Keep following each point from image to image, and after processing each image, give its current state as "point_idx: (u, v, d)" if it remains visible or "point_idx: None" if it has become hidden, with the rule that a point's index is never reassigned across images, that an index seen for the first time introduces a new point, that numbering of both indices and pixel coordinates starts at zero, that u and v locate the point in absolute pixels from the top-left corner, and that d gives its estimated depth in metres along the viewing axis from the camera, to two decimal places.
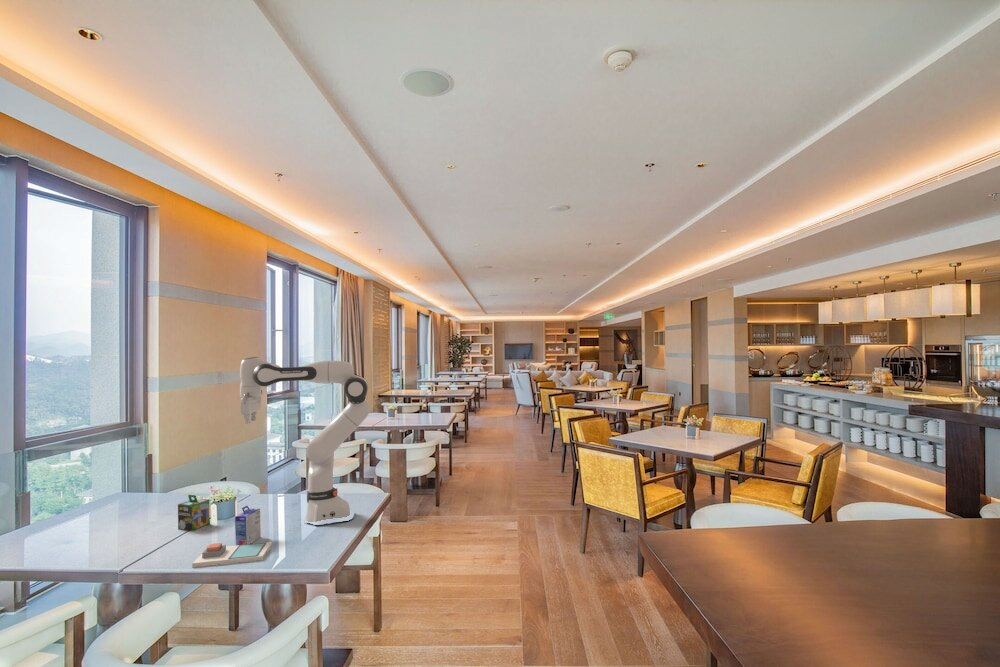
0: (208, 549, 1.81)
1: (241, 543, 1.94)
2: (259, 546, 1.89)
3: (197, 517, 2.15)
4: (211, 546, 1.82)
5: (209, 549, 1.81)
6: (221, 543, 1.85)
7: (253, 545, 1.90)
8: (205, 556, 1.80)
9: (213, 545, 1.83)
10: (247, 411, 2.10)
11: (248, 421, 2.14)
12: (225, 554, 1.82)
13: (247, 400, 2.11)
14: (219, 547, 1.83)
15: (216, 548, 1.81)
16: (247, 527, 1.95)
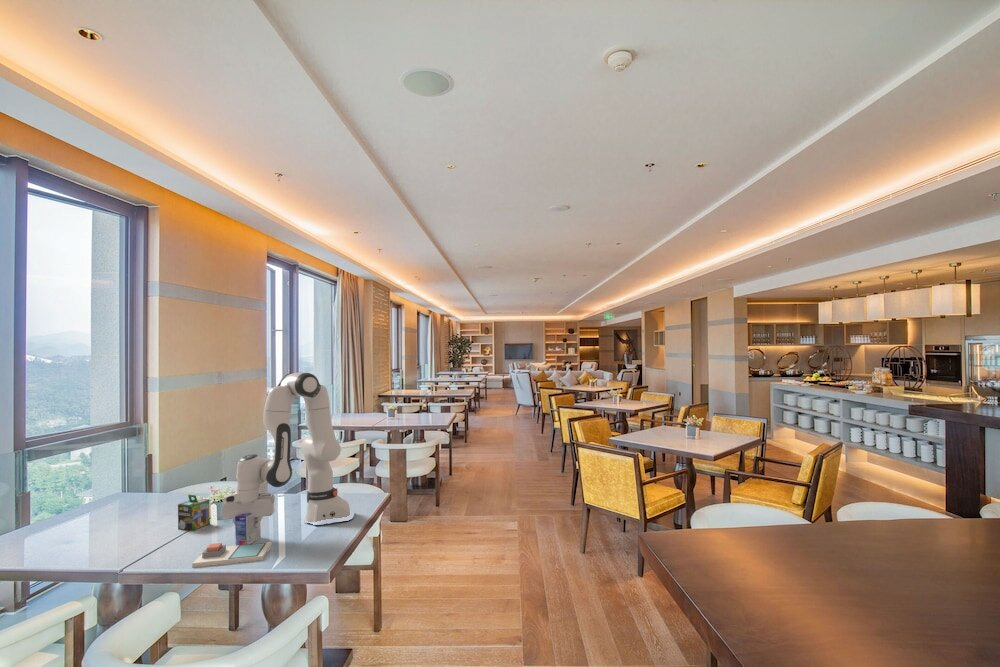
0: (208, 549, 1.81)
1: (241, 543, 1.94)
2: (259, 546, 1.89)
3: (197, 517, 2.15)
4: (211, 546, 1.82)
5: (209, 549, 1.81)
6: (221, 543, 1.85)
7: (253, 545, 1.90)
8: (205, 556, 1.80)
9: (213, 545, 1.83)
10: (274, 510, 2.03)
11: (259, 524, 2.01)
12: (225, 554, 1.82)
13: None
14: (219, 547, 1.83)
15: (216, 548, 1.81)
16: (247, 527, 1.95)
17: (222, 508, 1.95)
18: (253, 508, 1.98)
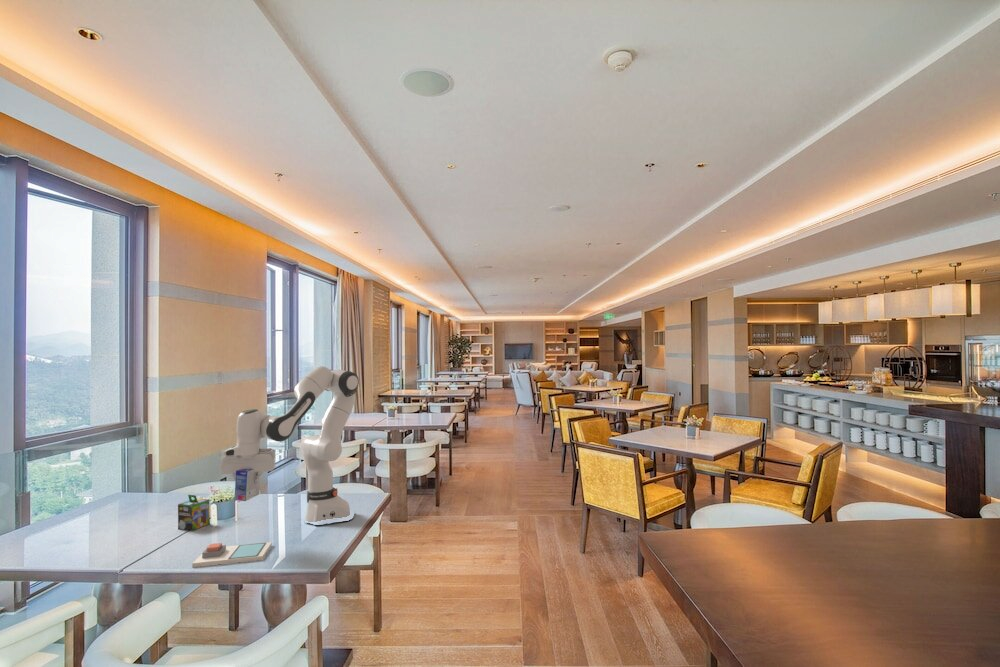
0: (208, 549, 1.81)
1: (240, 498, 1.91)
2: (259, 546, 1.89)
3: (197, 517, 2.15)
4: (211, 546, 1.82)
5: (209, 549, 1.81)
6: (221, 543, 1.85)
7: (253, 545, 1.90)
8: (205, 556, 1.80)
9: (213, 545, 1.83)
10: (274, 466, 1.99)
11: (259, 479, 1.97)
12: (225, 554, 1.82)
13: None
14: (219, 547, 1.83)
15: (216, 548, 1.81)
16: (247, 482, 1.91)
17: (222, 462, 1.92)
18: (253, 463, 1.95)
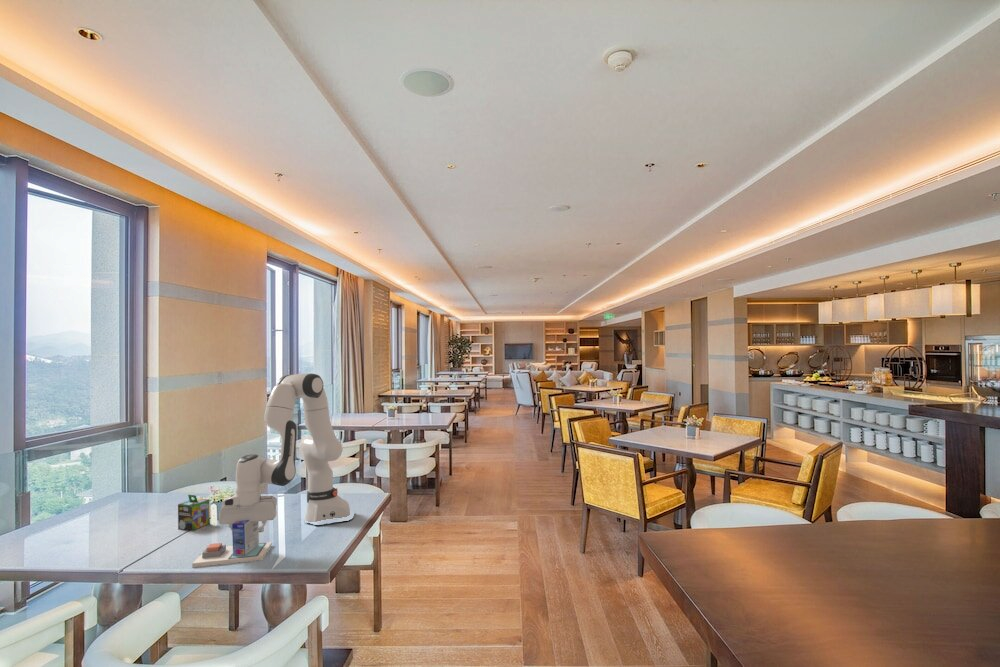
0: (208, 549, 1.81)
1: (239, 552, 1.81)
2: (259, 546, 1.89)
3: (197, 517, 2.15)
4: (211, 546, 1.82)
5: (209, 549, 1.81)
6: (221, 543, 1.85)
7: None
8: (205, 556, 1.80)
9: (213, 545, 1.83)
10: (276, 514, 1.90)
11: (263, 528, 1.88)
12: (225, 554, 1.82)
13: None
14: (219, 547, 1.83)
15: (216, 548, 1.81)
16: (245, 534, 1.82)
17: (220, 512, 1.82)
18: (254, 512, 1.85)
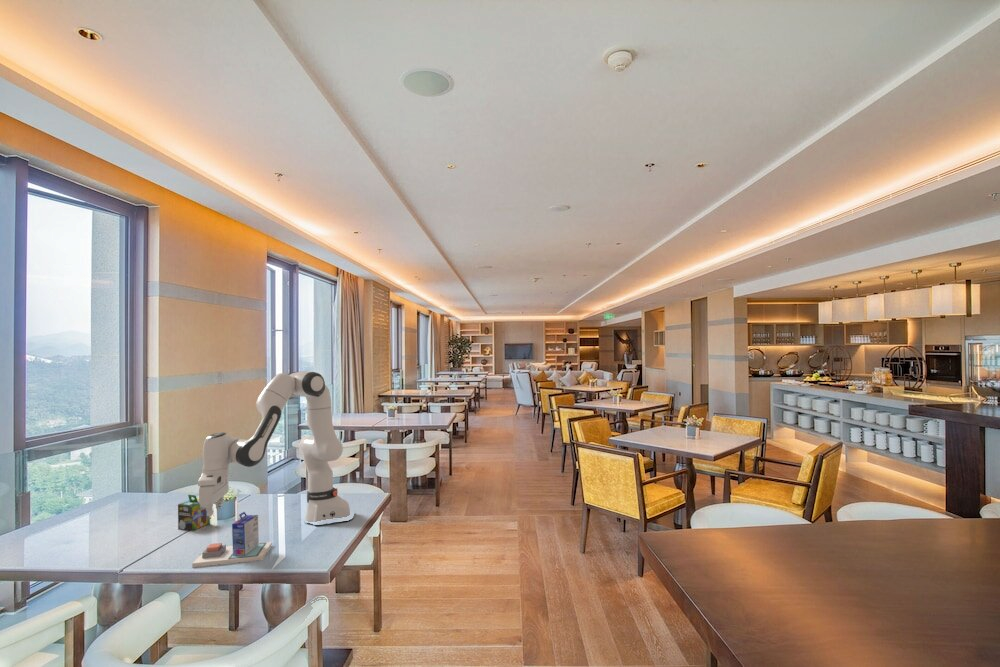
0: (208, 549, 1.81)
1: (239, 552, 1.81)
2: (259, 546, 1.89)
3: (197, 517, 2.15)
4: (211, 546, 1.82)
5: (209, 549, 1.81)
6: (221, 543, 1.85)
7: None
8: (205, 556, 1.80)
9: (213, 545, 1.83)
10: None
11: None
12: (225, 554, 1.82)
13: None
14: (219, 547, 1.83)
15: (216, 548, 1.81)
16: (245, 534, 1.82)
17: (212, 493, 1.76)
18: (222, 488, 1.87)
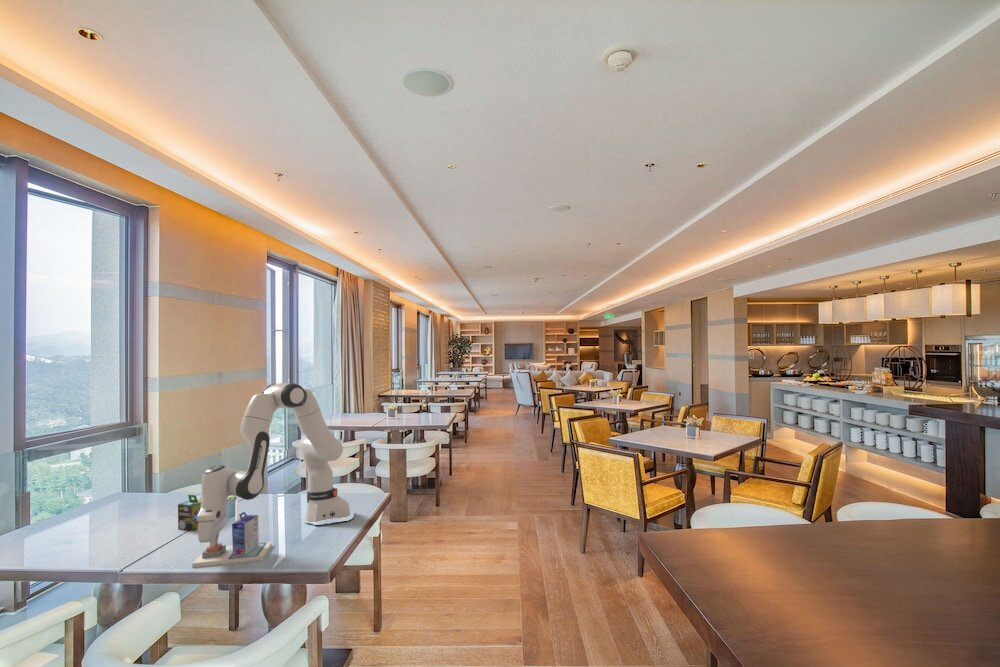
0: (208, 549, 1.81)
1: (239, 552, 1.81)
2: (259, 546, 1.89)
3: None
4: None
5: (209, 549, 1.81)
6: (221, 543, 1.85)
7: None
8: (205, 556, 1.80)
9: None
10: None
11: None
12: (225, 554, 1.82)
13: None
14: (219, 547, 1.83)
15: (216, 548, 1.81)
16: (245, 534, 1.82)
17: (212, 528, 1.75)
18: (221, 521, 1.86)
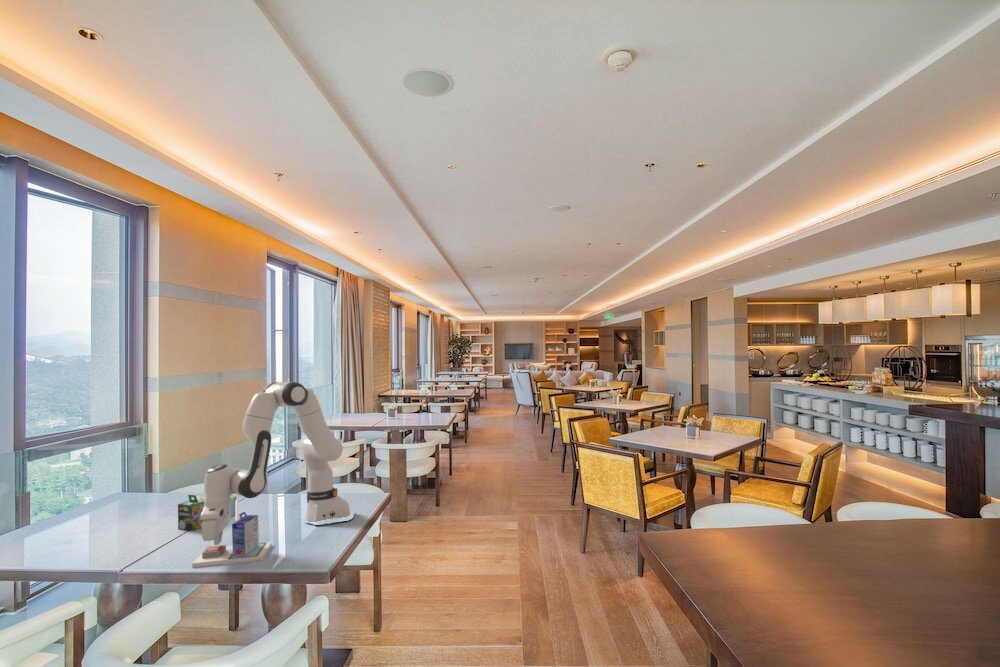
0: None
1: (239, 552, 1.81)
2: (259, 546, 1.89)
3: (197, 517, 2.15)
4: (211, 549, 1.82)
5: None
6: (221, 546, 1.85)
7: None
8: (205, 556, 1.80)
9: (213, 548, 1.83)
10: None
11: None
12: (225, 554, 1.82)
13: None
14: None
15: None
16: (245, 534, 1.82)
17: (215, 526, 1.77)
18: (224, 519, 1.88)
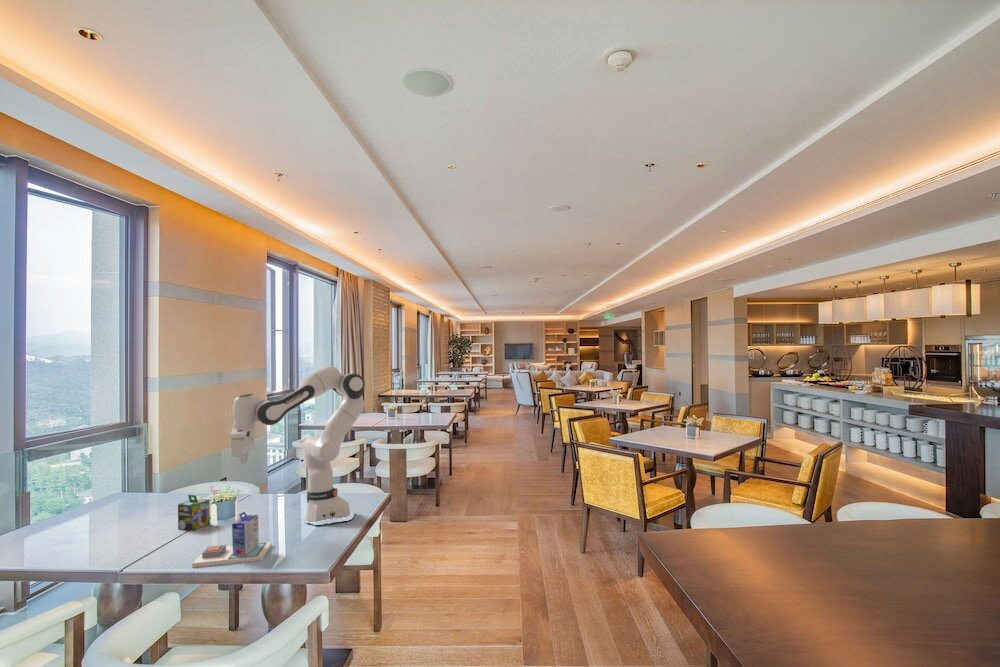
0: None
1: (239, 552, 1.81)
2: (259, 546, 1.89)
3: (197, 517, 2.15)
4: (211, 549, 1.82)
5: None
6: (221, 546, 1.85)
7: None
8: (205, 556, 1.80)
9: (213, 548, 1.83)
10: None
11: None
12: (225, 554, 1.82)
13: None
14: None
15: None
16: (245, 534, 1.82)
17: (243, 445, 1.99)
18: (250, 442, 2.10)
